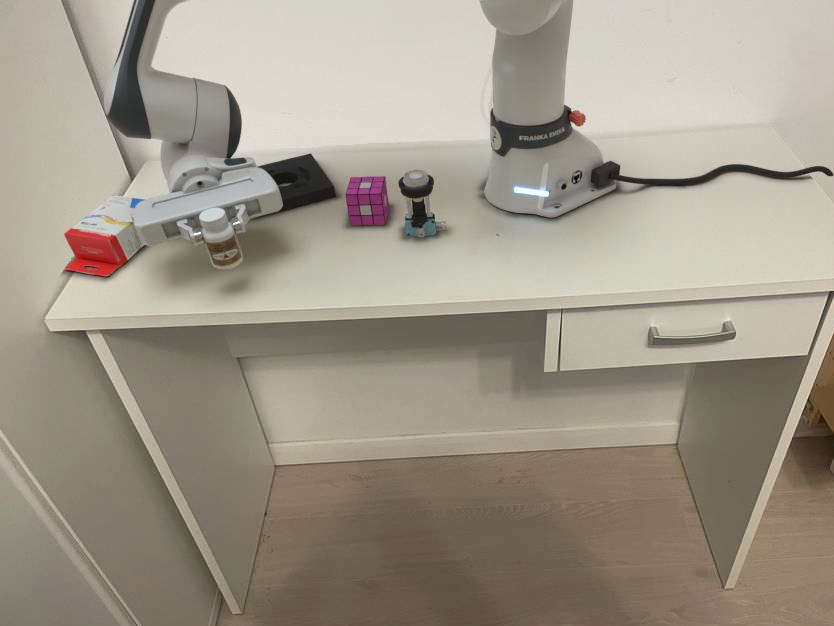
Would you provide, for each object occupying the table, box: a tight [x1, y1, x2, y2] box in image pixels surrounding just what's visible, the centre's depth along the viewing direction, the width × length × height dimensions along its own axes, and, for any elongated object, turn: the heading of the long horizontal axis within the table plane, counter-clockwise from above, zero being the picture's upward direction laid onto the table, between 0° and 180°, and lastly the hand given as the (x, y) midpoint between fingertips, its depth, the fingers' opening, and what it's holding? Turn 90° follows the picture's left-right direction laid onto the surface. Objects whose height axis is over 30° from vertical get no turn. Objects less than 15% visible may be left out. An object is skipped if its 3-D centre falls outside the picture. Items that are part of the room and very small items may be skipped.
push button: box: [397, 169, 447, 238], centre depth 105 cm, size 7×5×10 cm
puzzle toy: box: [344, 175, 390, 227], centre depth 111 cm, size 6×6×6 cm
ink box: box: [63, 194, 146, 277], centre depth 107 cm, size 8×5×15 cm
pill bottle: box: [199, 208, 244, 270], centre depth 95 cm, size 4×4×8 cm
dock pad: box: [254, 153, 337, 219], centre depth 120 cm, size 14×14×2 cm
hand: (219, 234), depth 93 cm, fingers closed on pill bottle, 4 cm apart
